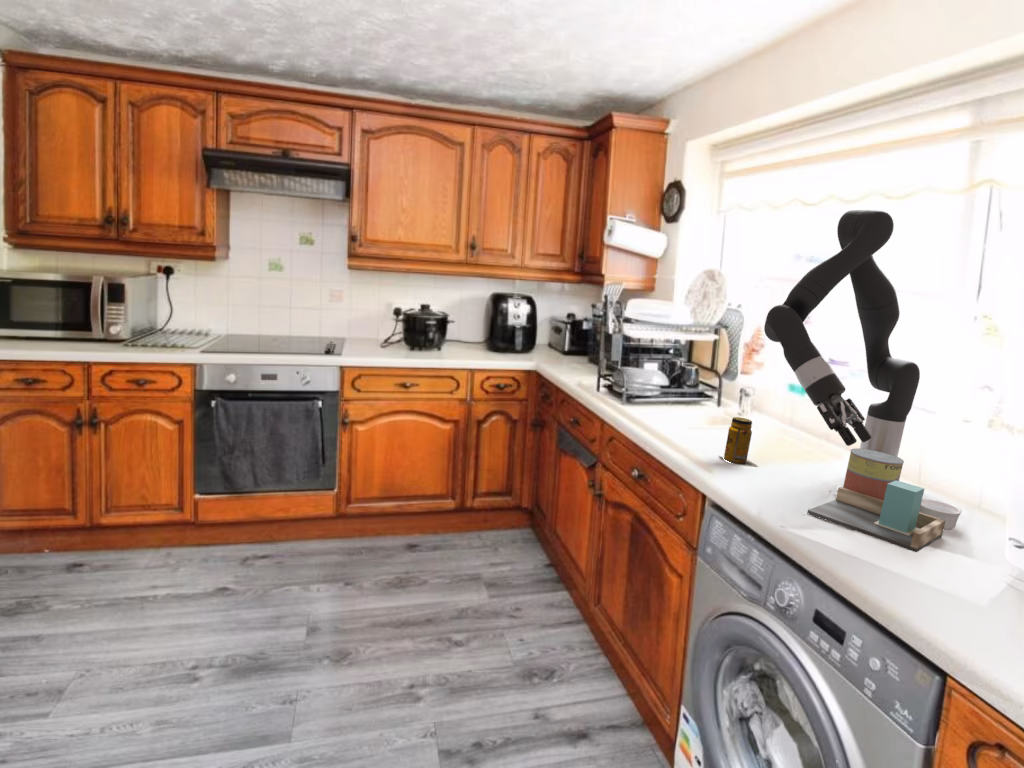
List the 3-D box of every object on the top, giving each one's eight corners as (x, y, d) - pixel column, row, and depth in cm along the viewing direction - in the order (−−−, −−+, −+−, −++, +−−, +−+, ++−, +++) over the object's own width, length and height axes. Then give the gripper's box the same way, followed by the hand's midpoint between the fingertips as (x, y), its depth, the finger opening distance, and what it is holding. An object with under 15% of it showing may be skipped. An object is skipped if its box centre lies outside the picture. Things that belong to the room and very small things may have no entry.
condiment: (718, 456, 188) (725, 415, 186) (746, 458, 189) (754, 417, 187) (728, 464, 181) (736, 421, 179) (758, 467, 182) (766, 424, 180)
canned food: (891, 516, 153) (903, 466, 151) (837, 502, 159) (848, 454, 156) (893, 504, 162) (904, 457, 160) (843, 491, 168) (852, 445, 166)
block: (887, 519, 147) (896, 480, 146) (915, 528, 143) (924, 488, 142) (878, 523, 144) (887, 483, 142) (906, 533, 140) (915, 492, 138)
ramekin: (958, 535, 146) (963, 516, 145) (911, 523, 150) (916, 505, 149) (955, 523, 154) (959, 505, 153) (910, 512, 158) (915, 495, 157)
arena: (837, 502, 159) (840, 486, 158) (941, 537, 143) (945, 520, 142) (807, 513, 148) (810, 497, 147) (916, 552, 132) (920, 534, 131)
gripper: (819, 373, 148) (862, 437, 142) (845, 371, 157) (887, 431, 151) (791, 391, 152) (832, 453, 146) (818, 388, 162) (857, 447, 156)
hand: (860, 442), depth 149 cm, fingers open, 8 cm apart
